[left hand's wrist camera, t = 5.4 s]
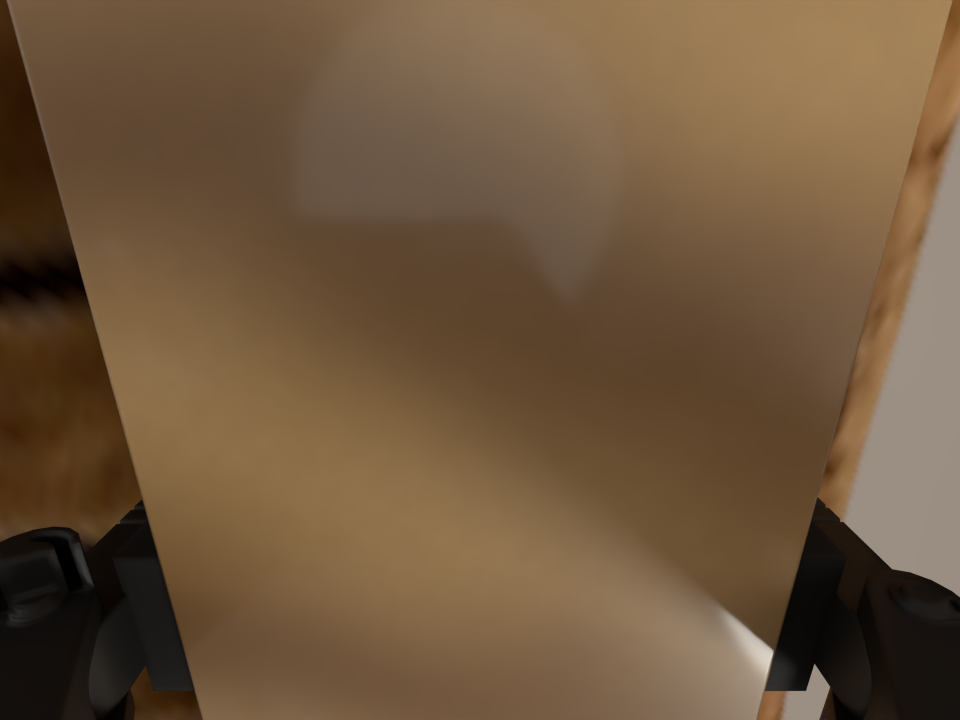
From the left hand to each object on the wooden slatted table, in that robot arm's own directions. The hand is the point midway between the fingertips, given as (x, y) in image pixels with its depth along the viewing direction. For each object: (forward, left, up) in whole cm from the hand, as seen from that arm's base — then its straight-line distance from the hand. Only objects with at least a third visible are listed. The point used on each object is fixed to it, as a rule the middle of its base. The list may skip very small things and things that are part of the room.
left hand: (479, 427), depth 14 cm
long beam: (+3, +31, 0) cm, 31 cm away
